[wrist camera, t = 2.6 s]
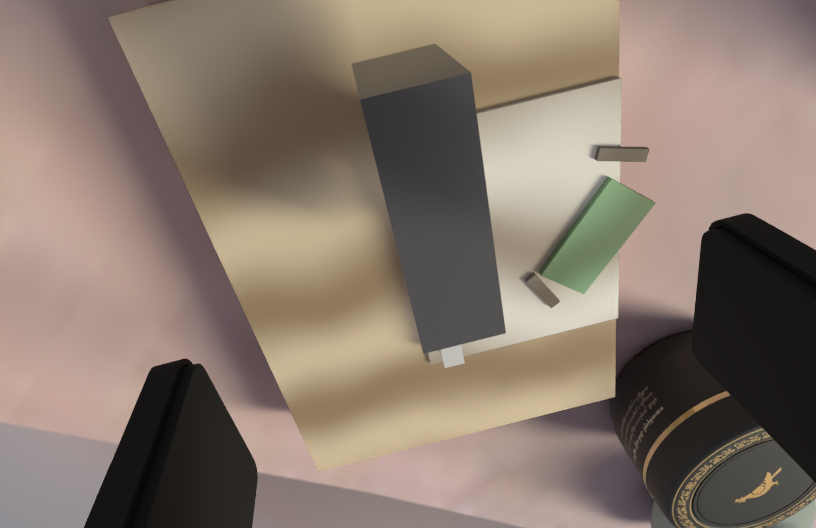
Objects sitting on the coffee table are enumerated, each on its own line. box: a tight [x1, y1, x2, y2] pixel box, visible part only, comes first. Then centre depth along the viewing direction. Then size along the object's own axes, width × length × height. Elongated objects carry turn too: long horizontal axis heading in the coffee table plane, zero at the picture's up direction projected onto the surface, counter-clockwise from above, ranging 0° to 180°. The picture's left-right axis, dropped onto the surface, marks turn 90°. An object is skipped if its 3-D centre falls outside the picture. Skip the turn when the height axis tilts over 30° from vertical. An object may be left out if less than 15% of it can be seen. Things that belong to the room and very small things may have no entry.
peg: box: [352, 44, 506, 368], centre depth 17 cm, size 13×2×7 cm, turn 12°
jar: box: [610, 331, 816, 528], centre depth 30 cm, size 10×10×8 cm
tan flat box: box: [108, 0, 655, 472], centre depth 23 cm, size 22×17×4 cm
